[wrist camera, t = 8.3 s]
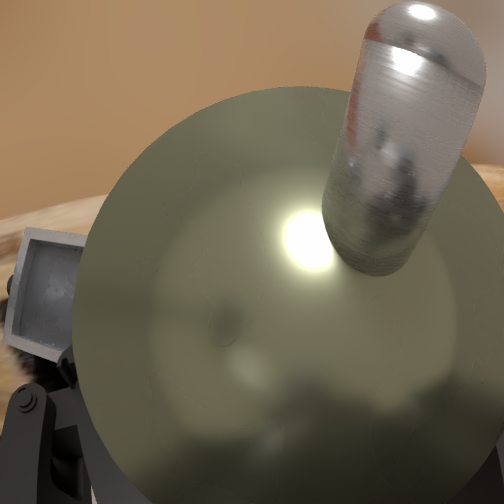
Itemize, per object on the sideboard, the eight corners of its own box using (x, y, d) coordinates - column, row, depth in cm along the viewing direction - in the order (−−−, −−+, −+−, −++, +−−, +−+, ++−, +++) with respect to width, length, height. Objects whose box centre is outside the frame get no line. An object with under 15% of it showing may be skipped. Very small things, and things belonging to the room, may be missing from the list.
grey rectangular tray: (17, 338, 28) (-14, 334, 22) (36, 242, 32) (9, 224, 26) (124, 371, 29) (101, 376, 23) (141, 259, 33) (124, 240, 27)
